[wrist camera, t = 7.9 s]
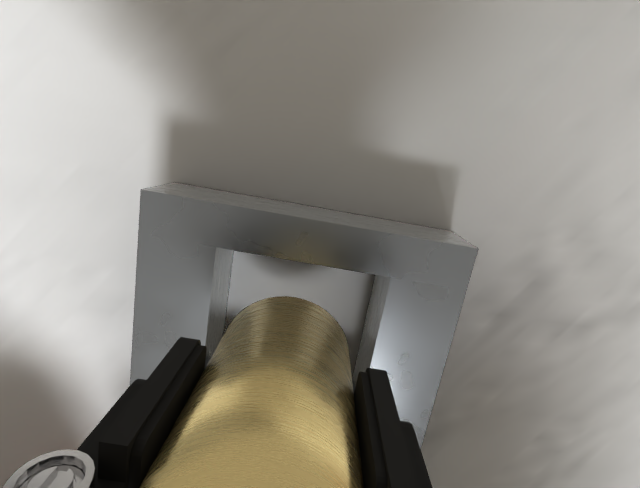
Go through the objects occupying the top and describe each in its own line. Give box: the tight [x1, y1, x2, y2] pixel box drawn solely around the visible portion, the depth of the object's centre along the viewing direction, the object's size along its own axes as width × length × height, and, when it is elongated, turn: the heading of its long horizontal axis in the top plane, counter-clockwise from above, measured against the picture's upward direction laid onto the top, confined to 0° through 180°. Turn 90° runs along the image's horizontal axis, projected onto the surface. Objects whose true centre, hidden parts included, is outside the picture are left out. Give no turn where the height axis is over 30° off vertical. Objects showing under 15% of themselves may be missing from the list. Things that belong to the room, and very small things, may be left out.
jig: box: [130, 182, 478, 450], centre depth 15 cm, size 12×16×5 cm
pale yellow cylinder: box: [139, 296, 364, 488], centre depth 9 cm, size 4×4×9 cm
